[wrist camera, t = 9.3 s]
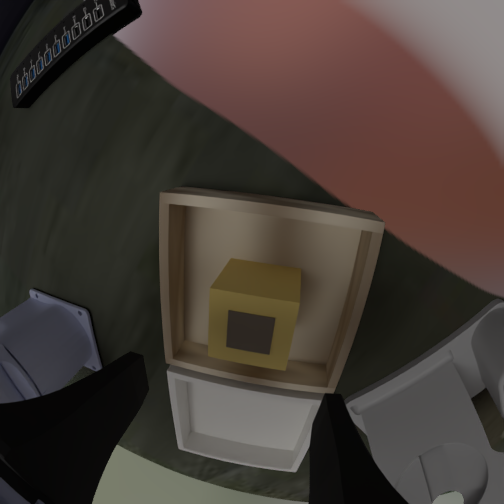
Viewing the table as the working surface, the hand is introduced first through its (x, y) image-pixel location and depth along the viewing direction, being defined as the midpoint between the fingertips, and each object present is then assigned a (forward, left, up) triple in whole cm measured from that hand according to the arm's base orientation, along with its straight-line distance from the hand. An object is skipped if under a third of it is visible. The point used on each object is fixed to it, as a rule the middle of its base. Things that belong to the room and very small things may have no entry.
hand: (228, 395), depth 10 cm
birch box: (0, 0, -10) cm, 10 cm away
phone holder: (+18, -7, -10) cm, 22 cm away
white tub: (0, -13, -10) cm, 16 cm away
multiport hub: (-19, +18, -10) cm, 28 cm away
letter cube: (0, 0, -9) cm, 9 cm away
